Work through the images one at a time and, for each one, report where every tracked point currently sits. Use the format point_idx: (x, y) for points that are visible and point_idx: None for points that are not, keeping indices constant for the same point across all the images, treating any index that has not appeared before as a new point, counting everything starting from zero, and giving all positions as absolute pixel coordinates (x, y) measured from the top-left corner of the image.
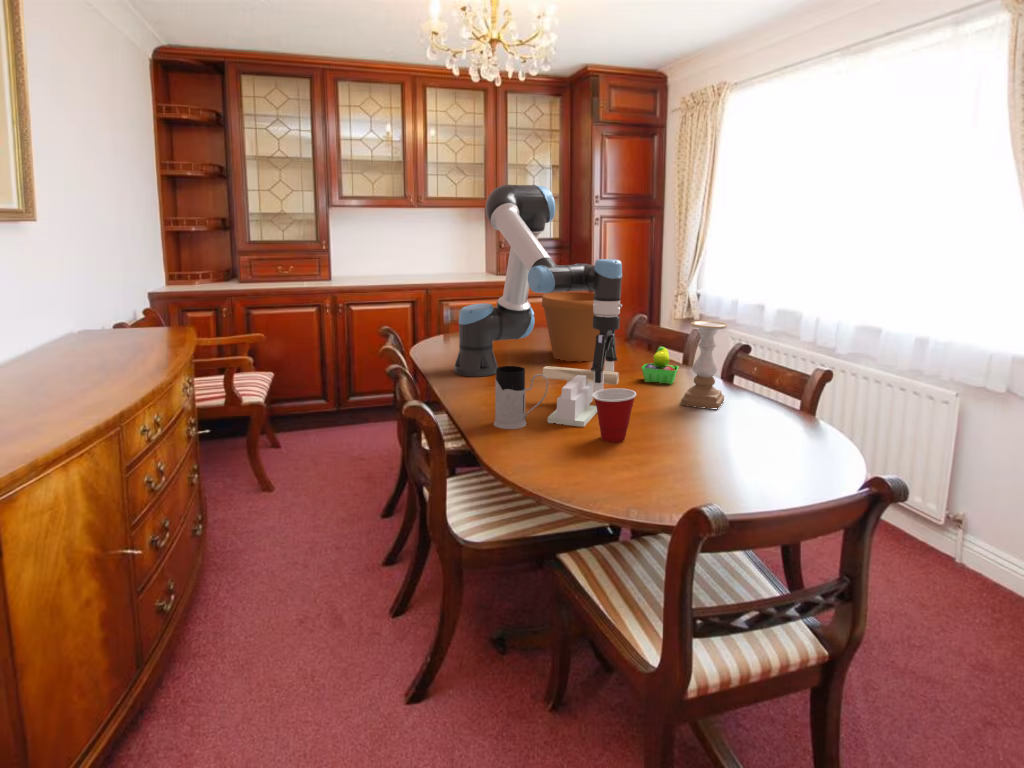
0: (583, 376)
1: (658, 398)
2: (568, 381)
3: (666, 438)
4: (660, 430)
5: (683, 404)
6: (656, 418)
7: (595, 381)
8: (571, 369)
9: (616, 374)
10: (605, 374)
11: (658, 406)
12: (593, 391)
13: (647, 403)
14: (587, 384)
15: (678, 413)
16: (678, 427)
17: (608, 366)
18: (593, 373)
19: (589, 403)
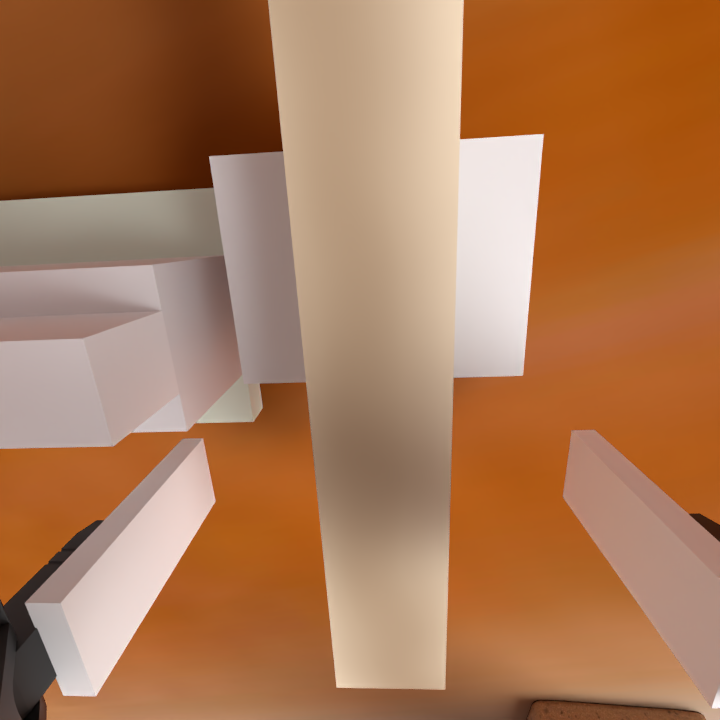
0: (51, 429)
1: (639, 617)
2: (259, 165)
3: (58, 694)
4: (133, 671)
5: (532, 715)
6: (282, 645)
7: (83, 535)
8: (364, 128)
9: (343, 684)
10: (328, 591)
11: (481, 632)
12: (175, 449)
13: (520, 587)
14: (277, 379)
15: (397, 701)
16: (207, 713)
17: (673, 585)
18: (318, 474)
19: (240, 375)
